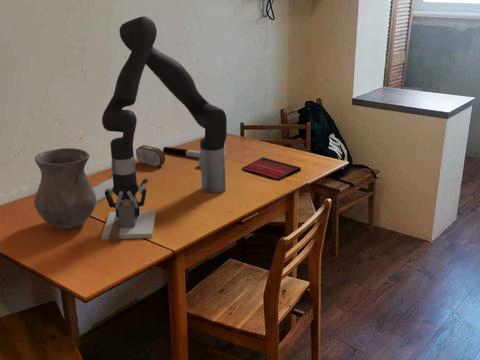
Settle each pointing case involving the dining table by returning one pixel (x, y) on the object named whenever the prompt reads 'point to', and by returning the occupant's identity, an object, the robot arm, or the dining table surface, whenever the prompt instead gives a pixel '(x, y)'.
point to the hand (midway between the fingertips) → (128, 217)
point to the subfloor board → (140, 229)
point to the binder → (271, 168)
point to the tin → (150, 156)
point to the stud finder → (126, 213)
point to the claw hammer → (185, 152)
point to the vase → (64, 188)
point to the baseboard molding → (102, 189)
